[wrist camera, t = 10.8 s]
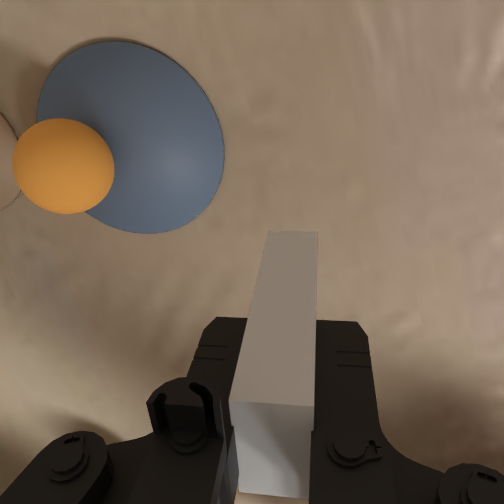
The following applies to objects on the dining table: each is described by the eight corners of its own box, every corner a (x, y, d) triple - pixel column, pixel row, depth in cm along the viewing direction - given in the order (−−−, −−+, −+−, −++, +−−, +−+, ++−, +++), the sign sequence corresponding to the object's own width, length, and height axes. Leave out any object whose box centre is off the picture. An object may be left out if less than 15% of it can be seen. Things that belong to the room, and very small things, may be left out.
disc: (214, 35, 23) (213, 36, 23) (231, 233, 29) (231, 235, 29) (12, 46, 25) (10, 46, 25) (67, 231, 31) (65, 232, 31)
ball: (96, 107, 28) (101, 112, 23) (121, 190, 30) (130, 210, 25) (3, 125, 26) (-13, 134, 21) (36, 211, 28) (29, 236, 24)
